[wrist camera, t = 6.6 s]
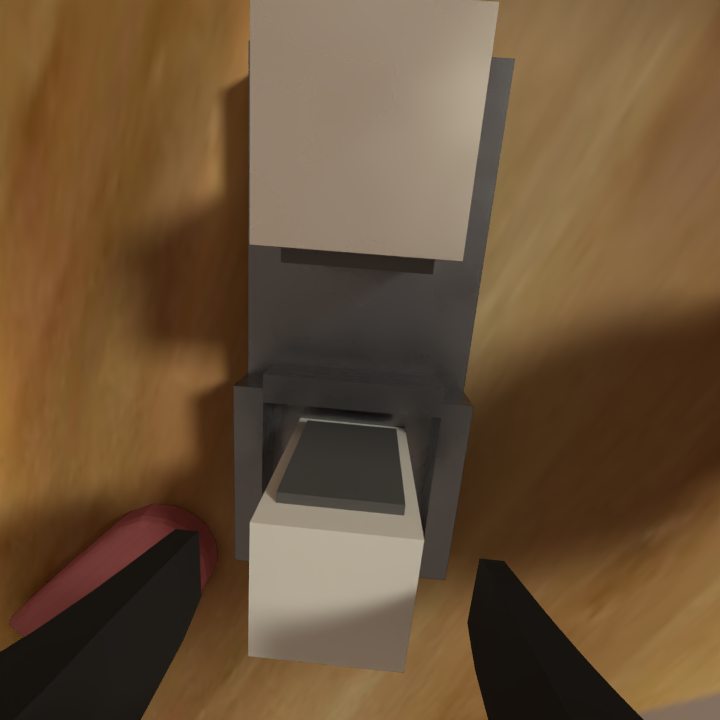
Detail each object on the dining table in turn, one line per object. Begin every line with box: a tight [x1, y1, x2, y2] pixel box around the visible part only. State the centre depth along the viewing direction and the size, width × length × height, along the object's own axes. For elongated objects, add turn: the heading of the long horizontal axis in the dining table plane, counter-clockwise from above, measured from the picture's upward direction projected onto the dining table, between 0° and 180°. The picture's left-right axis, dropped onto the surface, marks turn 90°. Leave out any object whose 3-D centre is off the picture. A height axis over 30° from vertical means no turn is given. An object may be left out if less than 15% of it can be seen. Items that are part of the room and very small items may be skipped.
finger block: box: [248, 418, 424, 673], centre depth 12 cm, size 4×4×6 cm
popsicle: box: [9, 504, 218, 637], centre depth 19 cm, size 5×2×15 cm
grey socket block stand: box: [233, 0, 515, 586], centre depth 11 cm, size 8×18×8 cm, turn 176°
